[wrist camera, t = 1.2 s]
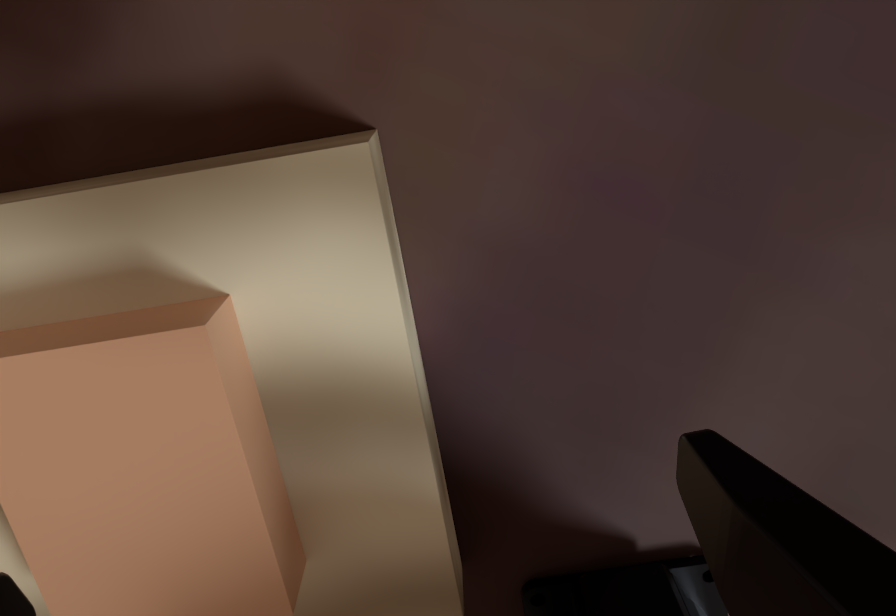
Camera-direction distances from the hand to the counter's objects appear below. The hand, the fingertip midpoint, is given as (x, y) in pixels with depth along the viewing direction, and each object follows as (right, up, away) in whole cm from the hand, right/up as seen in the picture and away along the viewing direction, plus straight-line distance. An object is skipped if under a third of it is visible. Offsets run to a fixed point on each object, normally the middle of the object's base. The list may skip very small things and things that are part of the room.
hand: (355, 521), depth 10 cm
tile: (-6, -1, +9) cm, 11 cm away
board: (-6, 0, +12) cm, 13 cm away
